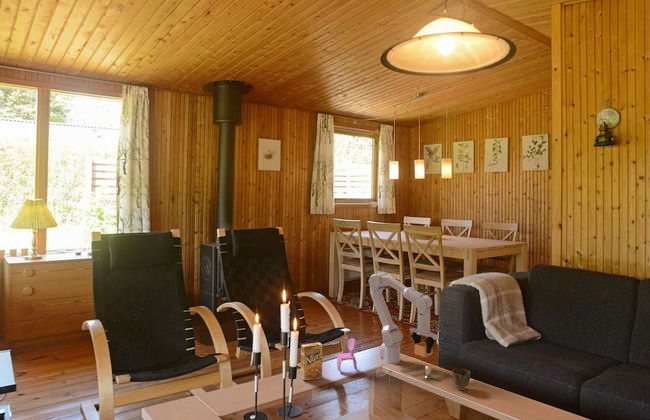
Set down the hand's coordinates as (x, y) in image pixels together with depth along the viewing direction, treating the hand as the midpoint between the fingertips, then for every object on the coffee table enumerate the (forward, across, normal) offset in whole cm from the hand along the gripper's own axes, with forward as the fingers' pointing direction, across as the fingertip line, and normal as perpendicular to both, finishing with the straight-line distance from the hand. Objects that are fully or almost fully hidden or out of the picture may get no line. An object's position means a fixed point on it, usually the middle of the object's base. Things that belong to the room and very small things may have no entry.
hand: (423, 351), depth 215 cm
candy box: (+10, -26, -46) cm, 53 cm away
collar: (+1, 0, 0) cm, 1 cm away
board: (+9, +4, -4) cm, 11 cm away
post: (+9, +8, -6) cm, 14 cm away
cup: (+10, +23, -4) cm, 25 cm away
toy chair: (+10, -22, -28) cm, 37 cm away
